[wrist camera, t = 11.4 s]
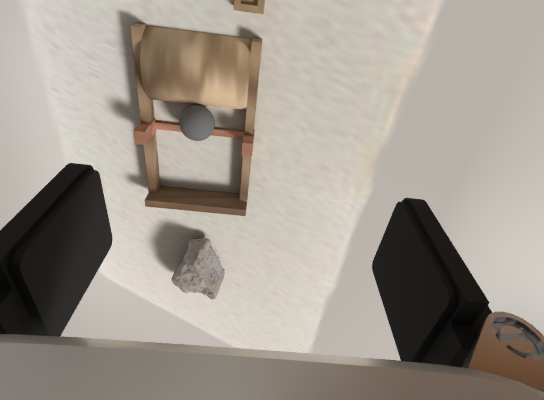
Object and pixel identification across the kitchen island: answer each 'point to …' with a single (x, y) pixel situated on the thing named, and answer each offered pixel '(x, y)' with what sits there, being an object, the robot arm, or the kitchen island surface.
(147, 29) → the wooden roller rack
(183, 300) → the kitchen island surface
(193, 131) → the ball
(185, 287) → the stone
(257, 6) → the tee
